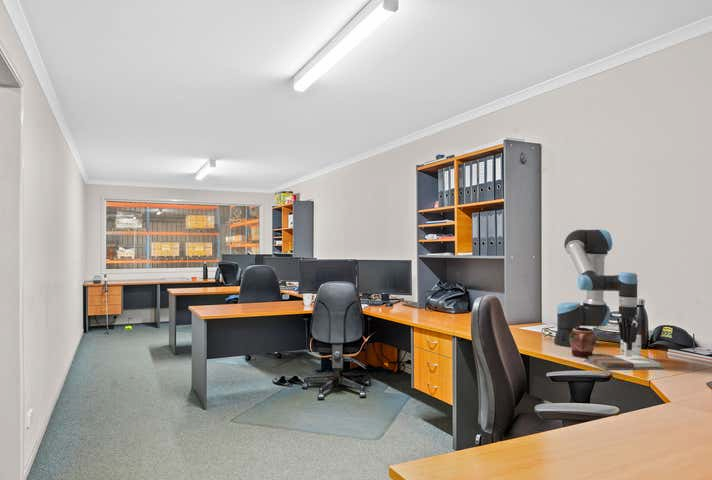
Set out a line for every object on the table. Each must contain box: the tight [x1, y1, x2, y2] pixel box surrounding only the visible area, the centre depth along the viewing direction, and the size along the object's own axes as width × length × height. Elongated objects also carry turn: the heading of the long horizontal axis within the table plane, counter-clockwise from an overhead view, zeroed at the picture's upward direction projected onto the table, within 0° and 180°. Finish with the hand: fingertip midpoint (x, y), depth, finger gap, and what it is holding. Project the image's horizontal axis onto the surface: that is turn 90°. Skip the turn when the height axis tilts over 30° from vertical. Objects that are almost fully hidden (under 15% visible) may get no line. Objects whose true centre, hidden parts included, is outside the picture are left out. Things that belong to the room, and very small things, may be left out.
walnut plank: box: [587, 355, 633, 368], centre depth 220 cm, size 15×12×2 cm
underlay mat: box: [583, 359, 665, 371], centre depth 221 cm, size 17×28×1 cm, turn 94°
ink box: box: [620, 334, 642, 356], centre depth 235 cm, size 9×5×12 cm, turn 53°
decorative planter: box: [569, 327, 597, 359], centre depth 238 cm, size 20×12×14 cm, turn 156°
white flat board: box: [613, 354, 660, 367], centre depth 221 cm, size 15×12×2 cm
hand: (627, 356), depth 221 cm, fingers closed
